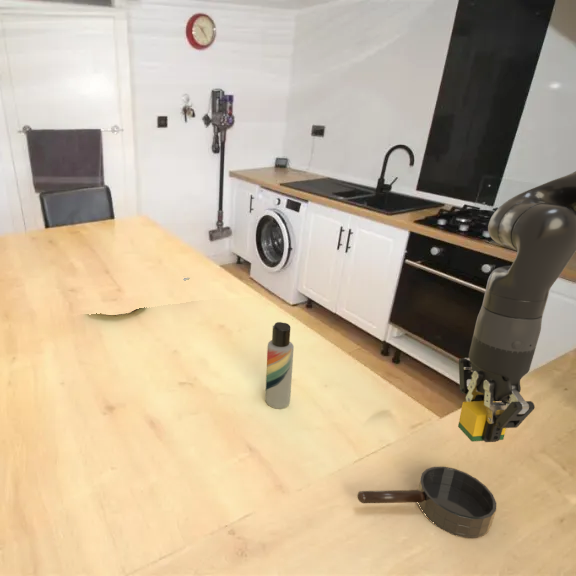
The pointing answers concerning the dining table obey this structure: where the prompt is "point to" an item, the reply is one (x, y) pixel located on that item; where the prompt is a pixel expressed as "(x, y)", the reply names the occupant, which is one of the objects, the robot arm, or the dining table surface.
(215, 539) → the dining table surface
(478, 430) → the sponge
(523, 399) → the robot arm
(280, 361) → the lotion bottle
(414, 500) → the pan handle
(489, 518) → the pan
